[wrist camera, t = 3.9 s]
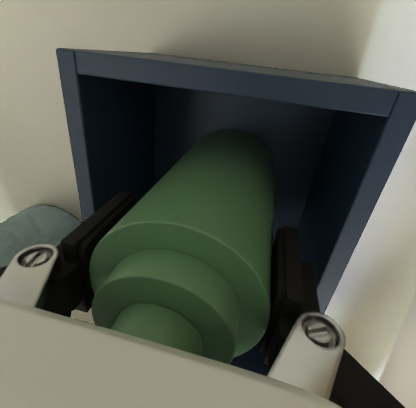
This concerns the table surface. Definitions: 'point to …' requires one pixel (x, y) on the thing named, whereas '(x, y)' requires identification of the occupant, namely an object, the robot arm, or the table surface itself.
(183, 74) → the box
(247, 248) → the water bottle
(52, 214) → the green tapered pot
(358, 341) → the table surface
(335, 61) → the table surface
